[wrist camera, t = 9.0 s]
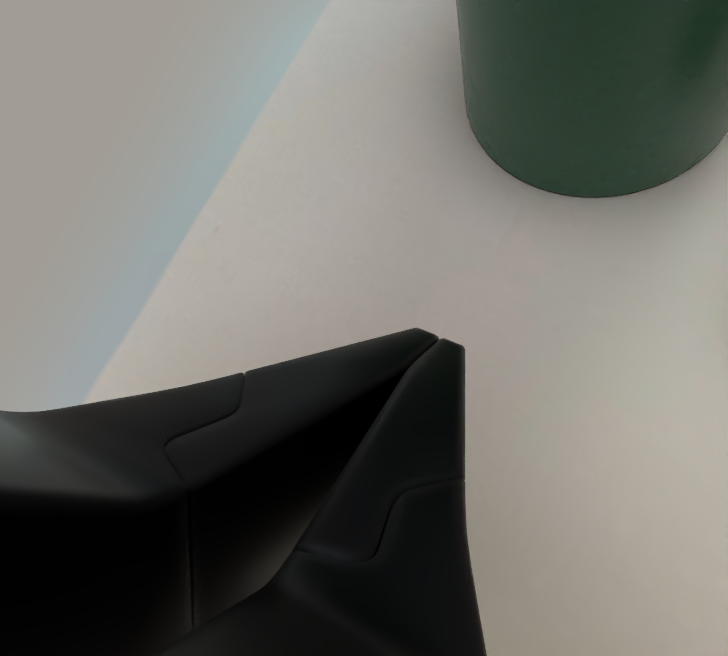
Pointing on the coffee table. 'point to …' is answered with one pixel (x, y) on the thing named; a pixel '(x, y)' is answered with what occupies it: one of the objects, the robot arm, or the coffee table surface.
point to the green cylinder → (595, 88)
